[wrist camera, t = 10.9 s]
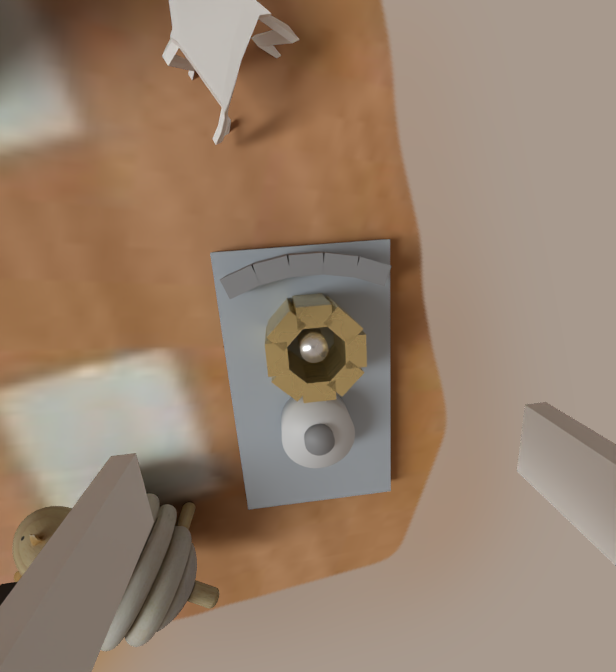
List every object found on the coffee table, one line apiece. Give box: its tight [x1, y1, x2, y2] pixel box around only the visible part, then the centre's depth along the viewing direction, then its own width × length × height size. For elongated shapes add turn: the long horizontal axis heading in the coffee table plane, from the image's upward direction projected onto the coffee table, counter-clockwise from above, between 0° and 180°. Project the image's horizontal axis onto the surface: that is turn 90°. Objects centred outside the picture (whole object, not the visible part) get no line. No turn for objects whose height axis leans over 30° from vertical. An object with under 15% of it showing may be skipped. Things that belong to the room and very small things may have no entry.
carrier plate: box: [210, 239, 391, 510], centre depth 28 cm, size 24×14×5 cm, turn 4°
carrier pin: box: [297, 328, 328, 363], centre depth 26 cm, size 2×2×4 cm
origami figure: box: [162, 0, 300, 145], centre depth 21 cm, size 12×8×5 cm
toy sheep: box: [13, 493, 219, 651], centre depth 28 cm, size 11×17×11 cm, turn 63°
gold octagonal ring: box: [265, 293, 367, 403], centre depth 26 cm, size 7×7×5 cm
